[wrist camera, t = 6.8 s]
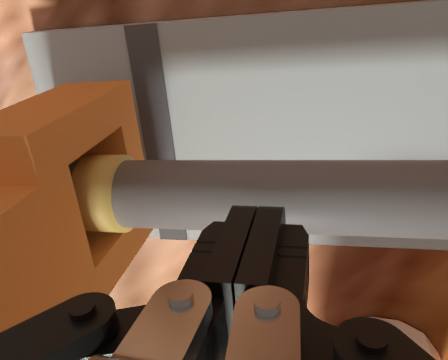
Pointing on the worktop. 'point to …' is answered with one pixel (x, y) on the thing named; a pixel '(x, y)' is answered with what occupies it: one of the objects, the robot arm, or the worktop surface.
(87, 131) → the collar
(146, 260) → the worktop surface
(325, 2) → the worktop surface
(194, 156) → the pipe stand
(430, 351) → the white cup
